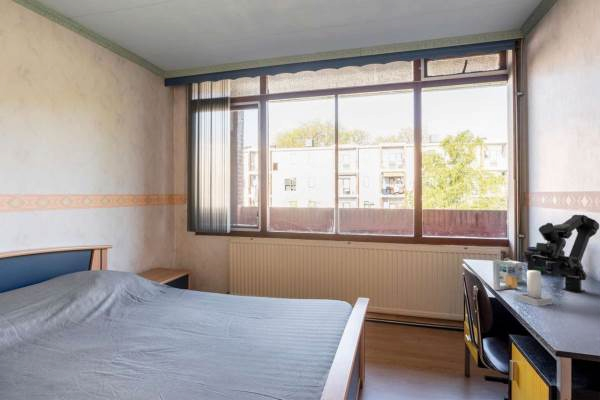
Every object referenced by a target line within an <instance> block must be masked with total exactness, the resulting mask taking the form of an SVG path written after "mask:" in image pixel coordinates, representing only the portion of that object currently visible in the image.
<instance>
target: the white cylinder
mask: <svg viewBox="0 0 600 400" xmlns="http://www.w3.org/2000/svg"><path fill="white" fill-rule="evenodd" d="M541 275H542V274H541V272H540V271H535V270H528V269H526V289H527V290H526V293H527V296H525V297H529V298H532V299H536V300H538V299H544V298H543V297H542V282H541V281H542V278H541V277H542V276H541Z"/></svg>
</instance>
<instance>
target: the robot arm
mask: <svg viewBox="0 0 600 400" xmlns="http://www.w3.org/2000/svg"><path fill="white" fill-rule="evenodd" d="M599 229H600V224H599V222H598V221H597V220H595V219H593V218H591V217H588V216H587V215H584V214H572V216H571V217H570V218H569V219H567V220H566V221H564V222H562V223H561V224H555V225H553V223H552V222H546V224H543V225H541V226H540V227H539V228H538V231H539V233H540V235H541V236H542V238H543V239H544V241H546V243H545V242H536V244H535V247H536V248H535V249H536V250H538V251H539V252H538V253H539V254H540V256H538V255H535V254H534V252H528V251H527V250H525V251H523V253H522V254H521V255H522V257H523V258H524V260H525V261H526V262H527V263H528V269H527V270H533V268H534V267H535V265H536V262H537V260H542V261H546V263H554V267H553V269H552V271H551V273H550V277H552V278H553V277H554V276H556V275H558V274H559V275H560V277H561V278H565V279H564V280H565V281H564V287H562V288H561V289H562V290H565V291H568V292H572V293H577V294H578V293H582V292H586V290H585V289H582V281H586V280H587V277H588V276H587V273H586V271H585V270H584V265H583V264H582V259H583V257H584V253H585V252H586V248H587V246H588V243H589V240H590V239H591V237H593V236H594V235H596V234H597V232H598V230H599ZM574 230H576V233H577V234H576V237H575V240H574V241H573V244H572V248H571V250H570V252H569V255H561V251H560V250H561V249H562V247H566V245H565V242H564V240H563V239H567V240H568V239H570V237H572V235H573V231H574Z"/></svg>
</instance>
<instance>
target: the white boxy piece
mask: <svg viewBox="0 0 600 400" xmlns="http://www.w3.org/2000/svg"><path fill="white" fill-rule="evenodd" d="M505 261H506V260H505ZM505 261H504V260H500V259H493V260H492V267H493V268H492V271H493V272H492V273H493V276H492V277H493V290H494V291H501V290H508V289H512V290H514V289H518V282H517V276H513V275H506V276H505V277H506V283H505V284H503V285H501V281H500V264H501V265H506V266H511V267H518V264H515V263H510V262H505Z"/></svg>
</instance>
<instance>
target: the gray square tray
mask: <svg viewBox="0 0 600 400" xmlns="http://www.w3.org/2000/svg"><path fill="white" fill-rule="evenodd" d="M525 296H527V292H524V293H518V294H517V293H516V300H517V301H519V302H522V303H525V304H529V305H531V304H532V306H534V305H535V306H534V307H541V305H542V306H547V304H548V305H552V304H553V302H554V301H553V297H544V298H543V299H538V300H536V299H532V298H529V297H525Z"/></svg>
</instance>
